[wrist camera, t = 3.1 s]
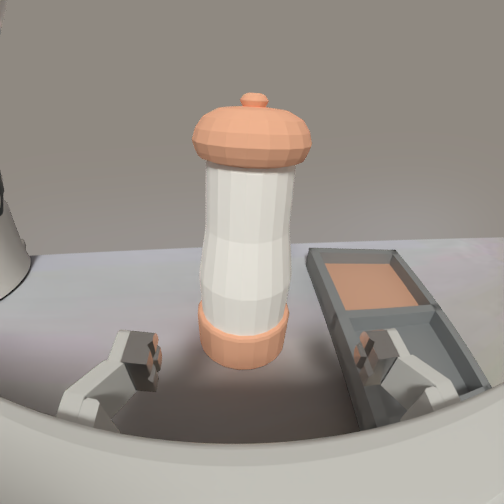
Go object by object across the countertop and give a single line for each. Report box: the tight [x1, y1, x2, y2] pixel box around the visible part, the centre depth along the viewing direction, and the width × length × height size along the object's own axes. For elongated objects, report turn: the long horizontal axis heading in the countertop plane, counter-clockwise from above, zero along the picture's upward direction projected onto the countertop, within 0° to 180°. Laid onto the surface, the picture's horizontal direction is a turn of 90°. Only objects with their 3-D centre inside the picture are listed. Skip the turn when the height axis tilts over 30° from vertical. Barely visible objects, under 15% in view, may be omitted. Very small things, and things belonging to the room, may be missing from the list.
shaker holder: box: [306, 248, 492, 431], centre depth 25 cm, size 12×23×2 cm, turn 3°
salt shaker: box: [192, 93, 312, 370], centre depth 20 cm, size 7×7×19 cm
